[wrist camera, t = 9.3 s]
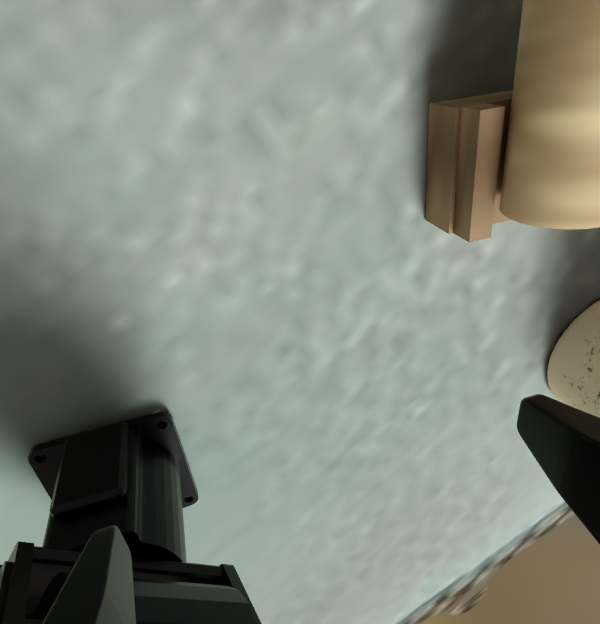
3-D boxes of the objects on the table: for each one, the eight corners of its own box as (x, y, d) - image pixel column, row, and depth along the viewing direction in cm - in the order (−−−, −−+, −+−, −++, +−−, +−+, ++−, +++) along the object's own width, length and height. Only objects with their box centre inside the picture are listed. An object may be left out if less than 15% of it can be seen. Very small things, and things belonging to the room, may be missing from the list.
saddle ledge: (577, 186, 23) (633, 204, 20) (425, 219, 21) (464, 243, 19) (599, 75, 20) (667, 78, 18) (428, 103, 19) (475, 111, 16)
